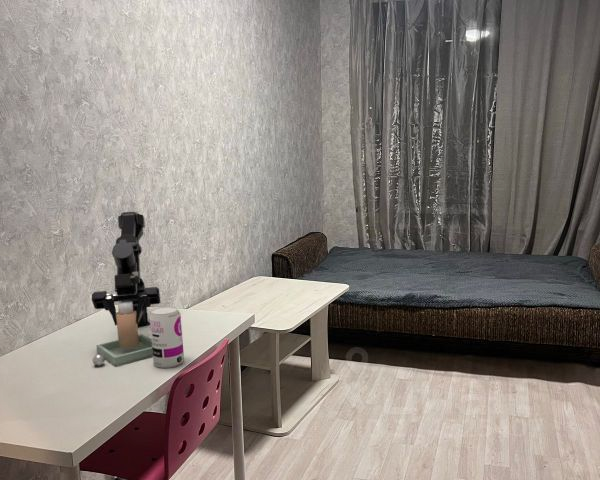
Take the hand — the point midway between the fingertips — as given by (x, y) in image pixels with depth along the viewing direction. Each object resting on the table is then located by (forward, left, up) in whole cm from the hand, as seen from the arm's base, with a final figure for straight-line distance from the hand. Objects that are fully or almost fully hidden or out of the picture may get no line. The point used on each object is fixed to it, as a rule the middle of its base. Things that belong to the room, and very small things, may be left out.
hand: (126, 323), depth 172 cm
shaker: (-1, -1, -7) cm, 7 cm away
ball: (+9, +2, -8) cm, 12 cm away
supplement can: (-6, +14, -9) cm, 18 cm away
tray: (-1, -1, -9) cm, 9 cm away
